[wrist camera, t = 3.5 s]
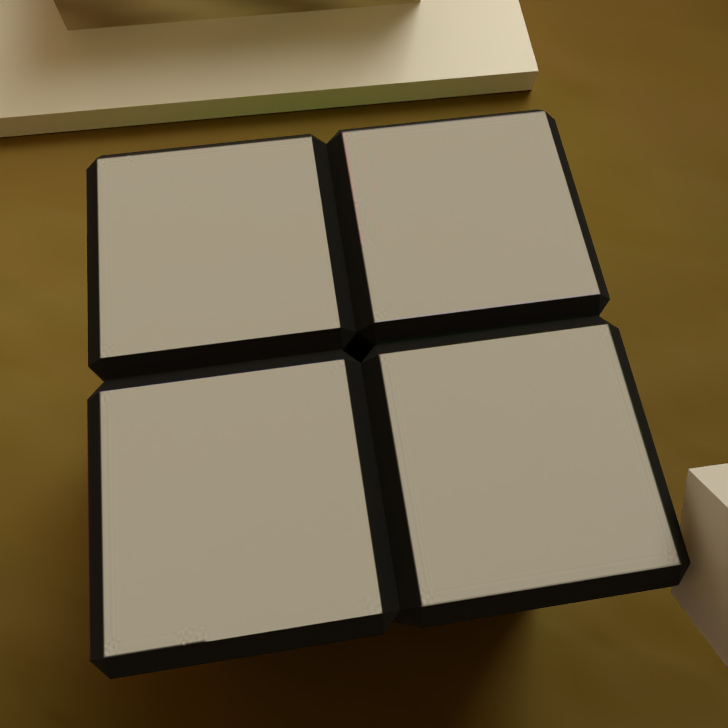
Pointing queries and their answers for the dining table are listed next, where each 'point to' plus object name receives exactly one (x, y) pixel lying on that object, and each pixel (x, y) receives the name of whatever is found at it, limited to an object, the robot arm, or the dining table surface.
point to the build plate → (252, 63)
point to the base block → (188, 10)
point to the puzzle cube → (354, 394)
